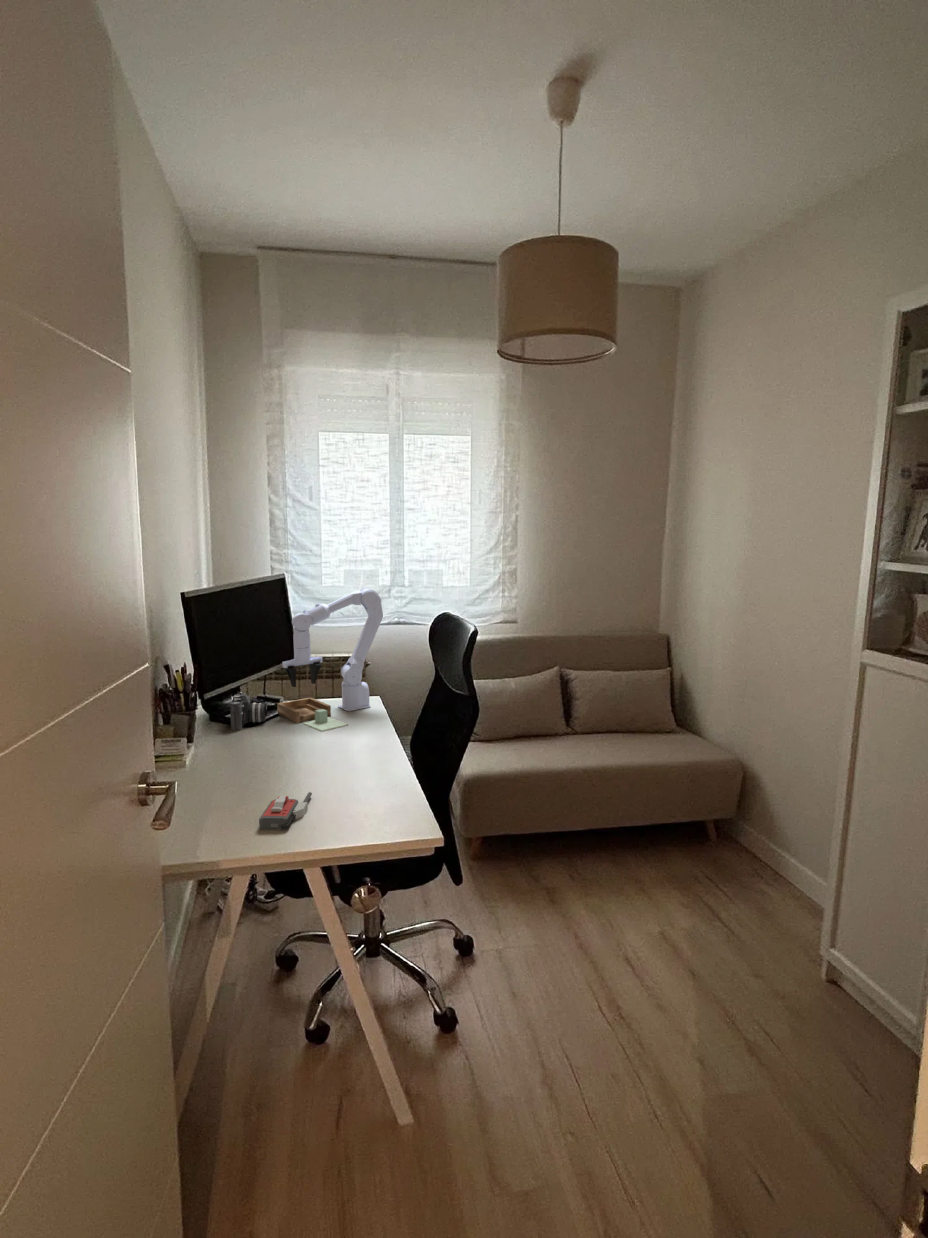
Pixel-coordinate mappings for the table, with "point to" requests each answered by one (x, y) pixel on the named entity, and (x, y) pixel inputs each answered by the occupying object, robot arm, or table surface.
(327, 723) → the lid
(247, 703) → the camera
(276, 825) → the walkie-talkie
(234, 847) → the table surface
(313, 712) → the box
